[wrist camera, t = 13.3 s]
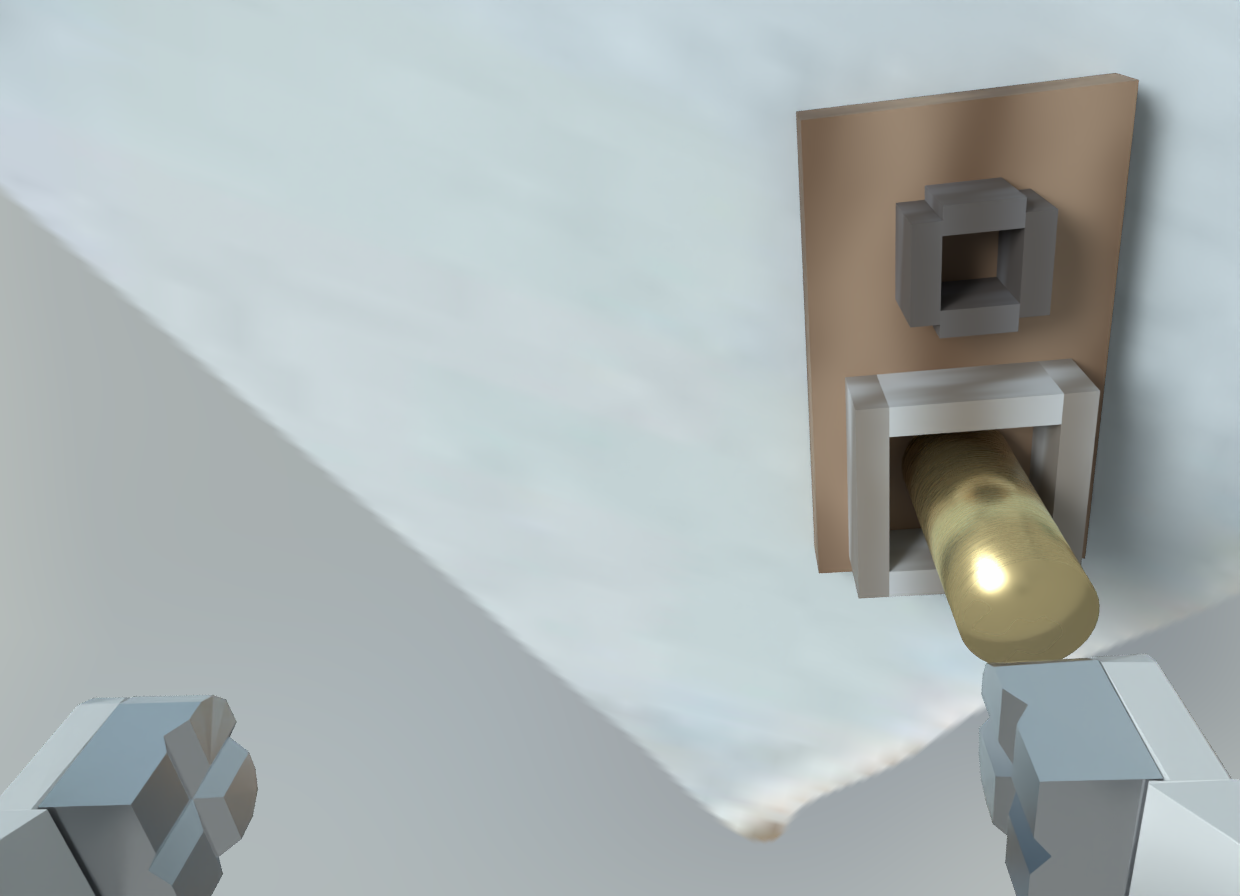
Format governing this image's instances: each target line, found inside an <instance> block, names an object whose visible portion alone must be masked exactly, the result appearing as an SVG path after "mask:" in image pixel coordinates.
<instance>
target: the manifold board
mask: <svg viewBox="0 0 1240 896" xmlns="http://www.w3.org/2000/svg"><path fill="white" fill-rule="evenodd" d="M1138 82H1139V80H1137V79H1134V78H1130V77H1127V76H1124V75H1121V74H1117V73H1112V74H1104V75H1096V76H1087V77H1079V78H1071V79H1063V80H1054V81H1046V82H1038V83H1029V84H1021V85H1013V86H1005V87H996V88H988V89H980V90H971V91H963V92H955V93H946V94H938V95H930V96H922V97H913V98H905V99H897V100H888V101H880V102H872V103H864V104H855V105H847V106H839V107H830V108H822V109H814V110H806V111H797V112H796V120H797V144H798V168H799V191H800V215H801V238H802V262H803V286H804V309H805V333H806V356H807V380H808V404H809V427H810V451H811V475H812V498H813V522H814V545H815V553H816V559H817V564H818V570H819V573H833V572H851V571H853V575H854V580H855V584H856V589H857V593H858V597H859V598H874V597H893V596H912V595H931V594H945V592H944V589H943V586H942V583H941V581H940V578H939V575H938V572H937V570H936V567H935V564H934V561H933V559H932V556H931V553H930V550H929V548H928V545H927V542H926V539H925V537H924V534H923V531H922V528H921V526H920V523H919V520H918V517H917V515H916V512H915V509H914V506H913V504H912V501H911V498H910V495H909V493H908V490H907V487H906V484H905V482H904V479H903V475H902V459H903V455H904V452H905V450H906V448H907V446H908V444H909V443H910V441H911V440H912V439H913V437H914V436H915V435H924V434H938V433H951V432H965V431H978V430H991V429H997V430H998V431H999V432H1000V433H1001V434H1002V435H1003V437H1004V439H1005V440H1006V442H1007V444H1008V445H1009V447H1010V449H1011V450H1012V452H1013V454H1014V455H1015V457H1016V459H1017V460H1018V462H1019V464H1020V465H1021V467H1022V469H1023V470H1024V472H1025V474H1026V475H1027V477H1028V479H1029V480H1030V482H1031V484H1032V485H1033V487H1034V489H1035V490H1036V492H1037V493H1038V495H1039V497H1040V498H1041V500H1042V502H1043V503H1044V505H1045V507H1046V508H1047V510H1048V512H1049V513H1050V515H1051V517H1052V518H1053V520H1054V522H1055V523H1056V525H1057V527H1058V528H1059V530H1060V532H1061V533H1062V535H1063V537H1064V538H1065V540H1066V542H1067V543H1068V545H1069V547H1070V548H1071V550H1072V552H1073V553H1074V555H1075V557H1076V558H1077V560H1078V562H1079V563H1080V565H1081V560H1082V558H1085V554H1086V545H1087V536H1088V527H1089V518H1090V509H1091V500H1092V492H1093V483H1094V474H1095V465H1096V456H1097V447H1098V438H1099V429H1100V420H1101V411H1102V403H1103V394H1104V385H1105V376H1106V367H1107V358H1108V349H1109V340H1110V331H1111V322H1112V314H1113V305H1114V296H1115V287H1116V278H1117V269H1118V260H1119V251H1120V242H1121V233H1122V225H1123V216H1124V207H1125V198H1126V189H1127V180H1128V171H1129V162H1130V153H1131V144H1132V135H1133V127H1134V118H1135V109H1136V100H1137V91H1138Z"/></svg>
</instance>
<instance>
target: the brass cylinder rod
mask: <svg viewBox="0 0 1240 896" xmlns="http://www.w3.org/2000/svg"><path fill="white" fill-rule="evenodd" d="M902 475H903V479H904V482H905V484H906V487H907V490H908V493H909V495H910V498H911V501H912V504H913V506H914V509H915V512H916V515H917V517H918V520H919V523H920V526H921V528H922V531H923V534H924V537H925V539H926V542H927V545H928V548H929V550H930V553H931V556H932V559H933V561H934V564H935V567H936V570H937V572H938V575H939V578H940V581H941V583H942V586H943V589H944V592H945V594H946V597H947V600H948V603H949V605H950V608H951V611H952V614H953V616H954V619H955V622H956V625H957V627H958V630H959V633H960V635H961V638H962V640H963V642H964V643H965V645H966V646H967V647H968V649H969V650H970V651H971V652H972V653H973V654H975V655H976V656H977V657H979V658H980V659H982V660H984V661H986V662H988V663H996V662H1016V661H1037V660H1058V659H1063V658H1065V657H1067V656H1068V655H1070V654H1071V653H1073V652H1074V651H1075V650H1077V649H1078V648H1079V647H1080V646H1081V645H1082V644H1083V643H1084V642H1085V641H1086V640H1087V639H1088V637H1089V636H1090V635H1091V633H1092V631H1093V630H1094V628H1095V626H1096V623H1097V620H1098V616H1099V599H1098V596H1097V593H1096V591H1095V589H1094V587H1093V585H1092V583H1091V582H1090V580H1089V578H1088V577H1087V575H1086V573H1085V572H1084V570H1083V568H1082V567H1081V565H1080V563H1079V562H1078V560H1077V558H1076V557H1075V555H1074V553H1073V552H1072V550H1071V548H1070V547H1069V545H1068V543H1067V542H1066V540H1065V538H1064V537H1063V535H1062V533H1061V532H1060V530H1059V528H1058V527H1057V525H1056V523H1055V522H1054V520H1053V518H1052V517H1051V515H1050V513H1049V512H1048V510H1047V508H1046V507H1045V505H1044V503H1043V502H1042V500H1041V498H1040V497H1039V495H1038V493H1037V492H1036V490H1035V489H1034V487H1033V485H1032V484H1031V482H1030V480H1029V479H1028V477H1027V475H1026V474H1025V472H1024V470H1023V469H1022V467H1021V465H1020V464H1019V462H1018V460H1017V459H1016V457H1015V455H1014V454H1013V452H1012V450H1011V449H1010V447H1009V445H1008V444H1007V442H1006V440H1005V439H1004V437H1003V435H1002V434H1001V433H1000V432H999V431H998V430H997V429H991V430H978V431H965V432H951V433H938V434H924V435H915V436H914V437H913V439H912V440H911V441H910V443H909V444H908V446H907V448H906V450H905V452H904V455H903V459H902Z"/></svg>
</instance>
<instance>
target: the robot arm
mask: <svg viewBox="0 0 1240 896" xmlns="http://www.w3.org/2000/svg"><path fill="white" fill-rule="evenodd" d="M981 694H982V697H983V700H984V703H985V706H986V709H987V711H988V714H989V718H988V719H987V721H986V722H985V723H984V724H983V725H982V726H981V727H980V728H979V762H980V772H981V782H982V785H983V790H984V795H985V800H986V804H987V807H988V810H989V813H990V817H991V820H992V823H993V824H994V825H995V826H996V827H997V828H998V829H1000V830H1001V831H1002V832H1003V833H1005V834H1006V835H1007V845H1006V860H1005V863H1006V866H1007V869H1008V872H1009V875H1010V878H1011V881H1012V884H1013V887H1014V890H1015V893H1016V896H1240V779H1232V778H1231V777H1230V775H1229V773H1228V772H1227V770H1226V769H1225V767H1224V766H1223V764H1222V763H1221V761H1220V759H1219V758H1218V756H1217V755H1216V753H1215V752H1214V750H1213V749H1212V747H1211V745H1210V744H1209V742H1208V741H1207V739H1206V737H1205V736H1204V734H1203V733H1202V731H1201V730H1200V728H1199V727H1198V725H1197V723H1196V722H1195V720H1194V719H1193V717H1192V716H1191V714H1190V712H1189V711H1188V709H1187V708H1186V706H1185V705H1184V703H1183V702H1182V700H1181V698H1180V697H1179V695H1178V694H1177V692H1176V691H1175V689H1174V688H1173V686H1172V684H1171V683H1170V682H1169V680H1168V678H1167V677H1166V675H1165V673H1164V672H1163V670H1162V669H1161V667H1160V666H1159V664H1158V663H1157V661H1156V660H1155V659H1154V658H1152V657H1151V656H1149V655H1148V654H1130V655H1114V656H1097V657H1092V658H1091V659H1089V658H1078V659H1058V660H1037V661H1016V662H996V663H986V665H985V669H984V672H983V678H982V692H981ZM235 724H236V720H235V718H234V715H233V713H232V711H231V709H230V707H229V705H228V703H227V700H226V699H223V698H220V697H217V696H214V695H193V696H192V695H191V696H134V697H132V698H92V699H90V700H88V701H85V702H84V703H81V704H79V705H78V706H77V707H76V708H75V709H74V710H73V711H72V712H71V714H70V715H69V716H68V717H67V718H66V720H65V721H64V722H63V723H62V724H61V725H60V727H59V728H58V729H57V730H56V731H55V733H54V734H53V735H52V736H51V737H50V738H49V740H48V741H47V742H46V743H45V744H44V746H43V747H42V748H41V749H40V750H39V751H38V753H37V754H36V755H35V756H34V757H33V758H32V760H31V761H30V762H29V763H28V764H27V766H26V767H25V768H24V769H23V770H22V771H21V772H20V774H19V775H18V776H17V777H16V779H15V780H14V781H13V782H12V783H11V784H10V785H9V787H8V788H7V789H6V790H5V792H4V793H3V794H2V795H1V796H0V896H211V895H212V894H213V892H214V890H215V888H216V886H217V884H218V882H219V881H220V878H221V877H222V875H223V872H222V868H221V864H220V860H219V856H220V855H222V854H223V853H224V852H226V851H227V850H228V849H229V848H231V847H232V846H233V845H234V844H236V843H237V842H238V841H239V840H241V839H242V837H243V835H244V833H245V831H246V829H247V827H248V825H249V823H250V821H251V819H252V817H253V812H254V807H255V802H256V796H257V791H258V787H257V778H256V769H255V766H254V764H253V761H252V759H251V756H250V753H249V752H248V751H247V750H246V749H244V748H243V747H242V746H241V745H239V744H238V743H237V742H235V741H234V740H233V739H232V738H230V735H231V733H232V731H233V729H234V727H235Z"/></svg>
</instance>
